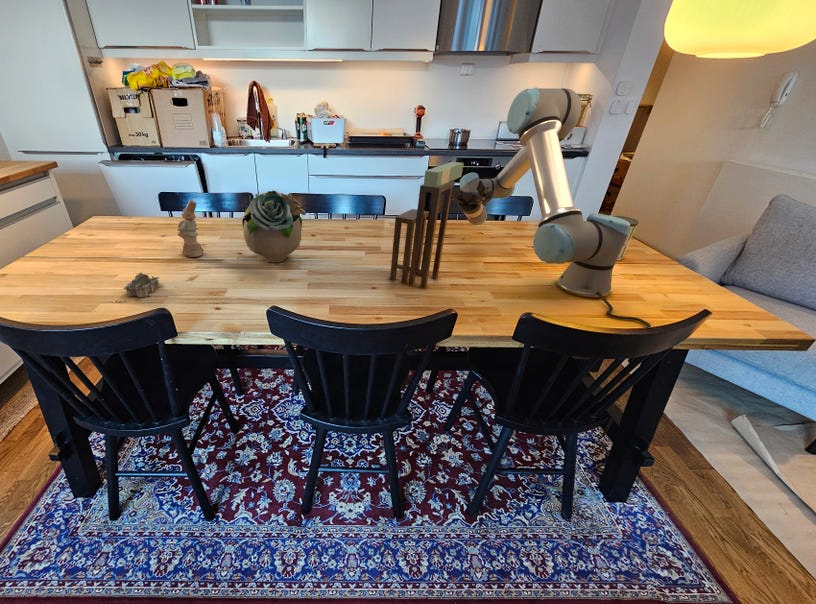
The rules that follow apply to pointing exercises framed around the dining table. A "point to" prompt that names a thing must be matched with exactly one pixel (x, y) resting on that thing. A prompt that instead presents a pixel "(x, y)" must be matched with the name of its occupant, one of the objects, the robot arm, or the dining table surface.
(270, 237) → the flower arrangement
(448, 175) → the sage box
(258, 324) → the dining table surface
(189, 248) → the figurine
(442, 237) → the step rack
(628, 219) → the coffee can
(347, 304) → the dining table surface
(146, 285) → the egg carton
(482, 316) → the dining table surface
